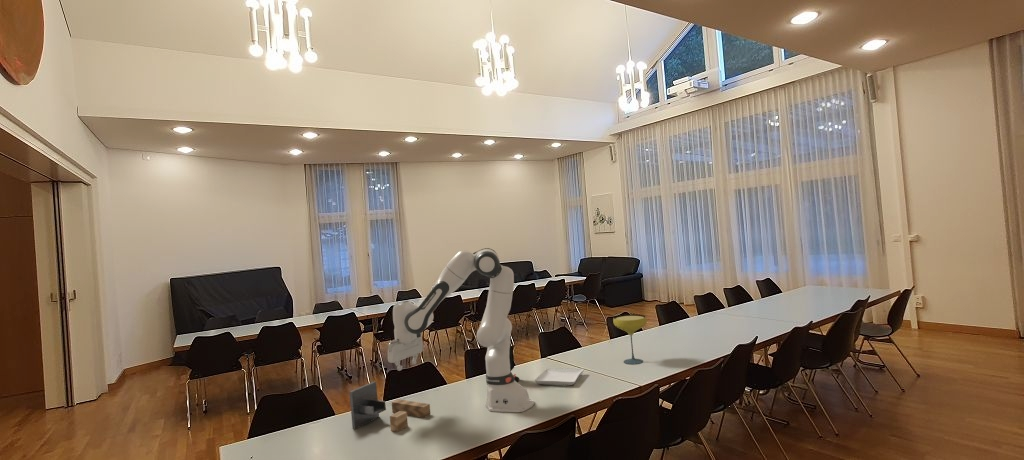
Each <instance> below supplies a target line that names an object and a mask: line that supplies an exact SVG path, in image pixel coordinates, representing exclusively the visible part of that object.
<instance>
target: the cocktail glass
mask: <svg viewBox="0 0 1024 460" xmlns="http://www.w3.org/2000/svg"><path fill="white" fill-rule="evenodd" d="M612 321H613V325H614V326H615V328H617V329H619V330H622V331H624V332H626V333H627V334H628V335H629V336H630V343H631V345H630V346H631V358H627V359H624V360H623V363H624V364H626V365H639V364H643V363H644V360H643V359H641V358H636V357H635V355H634V349H633V348H634V346H633V338H632V337H633V336H634V334H635V332H637V331H638V330H640V329H642V328H644V327H645V325H646V324H647V317H646V316H645V315H643V314H636V313H635V314H632V313H631V314H621V315H617V316H614V317H613V319H612Z"/></svg>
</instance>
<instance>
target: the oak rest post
mask: <svg viewBox="0 0 1024 460" xmlns="http://www.w3.org/2000/svg"><path fill="white" fill-rule="evenodd" d="M389 424H390V431H391V432H397V433H398V432H400V431H403V429H406V428H408V426H409V422H408V415H407V412H403V411H399V412H397V413H393V414H392V415H389Z"/></svg>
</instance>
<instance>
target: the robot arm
mask: <svg viewBox="0 0 1024 460" xmlns="http://www.w3.org/2000/svg"><path fill="white" fill-rule="evenodd" d="M475 271H477V272H478V273H479V274H481V275H482V276H485V277H487V278H489V287H488V293H487V301H486V304H485V305H486V307H485V309H484V313H483V316H482V318H481V322H480V324H479V327H478V329H477V331H476V340H477V342H478V344H479V345H480V346H482V347H484V348H487V349H486V354H485V357H484V360H485V370H486V373H485V380H486V385H487V386H486V387H487V390H486V391H487V393H486V401H485V402H486V403H485V408H487V409H488V411H489V412H500V413H501V412H502V413H522V412H526V411H528V410H530V409H531V408H532V407H533V406H534V405H535V400H534V399H533V398H530V396H529V392H528V390H527V388H525V387H524V386H522V385H521V384H520V383H519V382H516V381H515V379H514V377H516V376H517V374H516V373H514V374H513V373H512V370H511V371H510V366H511V365H510V359H509V350H510V339H511V335H512V330H513V324H512V321H511V320H510V319H509V318H508V316H509V312H510V311H511V307H512V301H513V294H514V286H515V284H514V283H515V274H514V271H513V269H512V268H510V267H509V266H505V265H502V264H501V263H500V258H499V255H498V253H497V252H496V251H495V250H494V249H492V248H489V247H487V248H482V249H479V250H477V251H475V252H473V253H472V252H471V251H468V250H463V249H462V250H460V251H458V252H457V253H456V254H455V255H453V256H452V258H451V259H450V260H449V261H448V263H447V264H446V265H445V267H443V269H442V271H441V272H440V274H439V276H438V278H437V279H436V281H435V283H434V285H433V286H432V289H431V291H429V293H428V294H427V295H426V297H425V298H424V299H423V301H422V302H421V303H420V305H418V304H415V303H413V302H412V301H410V300H403V301H400V302H397V303H396V304H394V305H393V308H392V321H393V326H394V329H393V334H394V340H391V341H390V342H389V343H388V345H387V362H388V363H390V364H391V363H393V364H395V366H396V370H397V371H399V372H400V371H402V370H403V365H401V361H402V360H405V359H408V358H410V357H412V360H411V365H417V360H418V356H419V355H418V354H420V353H423V351H424V342H423V338H422V337H423V332H424V331H425V330H426V329H427V328H428V327H429V326H430V325H431V324H432V323H433V321H434V317H435V315H434V311H435V310H436V309H437V307H438V306H439V305H440V303H441V302H442V301H444V299H446V298H447V297H448V296H449V295H451V294H453V293H454V292H456V291H457V290H458V289H459V288H460V287H461V286H462V285H463V284H464V283H465V281H466V280H467V279H468V277H469V276H470V275H471V274H472V273H473V272H475Z"/></svg>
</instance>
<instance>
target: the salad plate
mask: <svg viewBox="0 0 1024 460" xmlns="http://www.w3.org/2000/svg"><path fill="white" fill-rule="evenodd" d="M584 371H585V368H546V369H545V370H543V371H542V372H541V373H540V374H539V375H538V376H537V377H536V378H535V379H534V382H535V383H536V384H539V385H547V386H548V385H549V386H572V385H574V384H575V383H576V381H577V380H578V378H579V377H580V376H581V375H582V374H583V372H584Z"/></svg>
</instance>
